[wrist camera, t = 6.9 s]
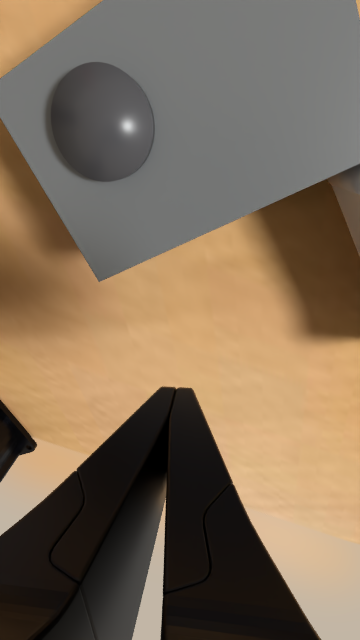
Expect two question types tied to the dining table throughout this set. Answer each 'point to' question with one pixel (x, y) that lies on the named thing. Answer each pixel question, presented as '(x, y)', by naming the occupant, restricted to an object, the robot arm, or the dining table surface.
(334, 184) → the side door
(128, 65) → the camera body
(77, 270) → the dining table surface
